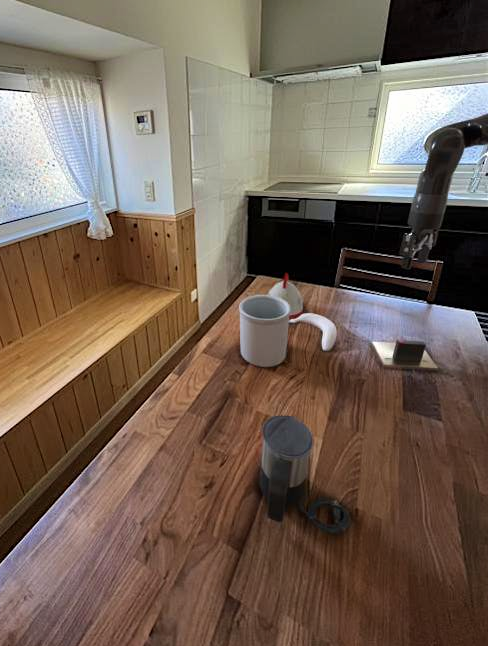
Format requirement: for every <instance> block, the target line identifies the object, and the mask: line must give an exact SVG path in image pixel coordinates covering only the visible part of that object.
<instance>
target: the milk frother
mask: <svg viewBox="0 0 488 646" xmlns="http://www.w3.org/2000/svg"><path fill="white" fill-rule="evenodd" d="M261 436H262V449H261V461H260V462H261V463H260V472H259V487H260V490H261V492H262V493H263V495H264V497H265V498H266V499H267V511H266V512H267V514H266V515H267V518H268V519H270V520H272V521H274V522H277V523H282V522H283V521H284V517H285V516H284V515H285V508H290V507H294V506H296V507H297V508H298V509H299V511H301V514H302V515H303V516H304V517H305V518H306V520H308V522H309V523H310V524H311V525H312V526H313V527H314V528H316V529H317V530H319V531H321V532H322V533H325V534H328V535H339V534H342V533H344V532H346V531H348V530H349V528H350V526H351V523H352V519H351V515H350V512H349V511H348V510H347V509H346V508H345V507H344V505H342V504H341V503H339V502H338V501H337V500H332V499H328V498H317V499H316V500H313V501H311V503H309V505H308V507H307V511H306V509H305V508H304V507H303V505H302V504H301V502H302V500H303V499H304V496H305V493H306V481H307V473H308V468H309V461H310V455H311V451H312V449H313V446H314V437H313V434H312V432H311V430H310V429H309V427H307V425H306V424H305V423H304V422H302V421H301V420H299V419H298V418H295V417H293V416H291V415H285V414H283V415H282V414H281V415H280V414H279V415H273V416H272V417H271V416H270V417H269V418H268V419H267V420H266V421H264V423H263V425H262V428H261ZM322 506H330V507H329V508H330V510H329V511H330V514H332V523H333V524H327V523H324V522H322V521H321V520H320V519H319V518H317V516H316V514H315V513H316V511H317V509H319V508H320V507H322Z"/></svg>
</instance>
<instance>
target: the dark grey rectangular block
mask: <svg viewBox="0 0 488 646" xmlns="http://www.w3.org/2000/svg"><path fill="white" fill-rule="evenodd" d="M395 343H396V345H395V349H394V353H393V358H394V360H400V361H416V362H421V360H422V357H423V353H424V350H425V351H426V346H427V344H426V343H425V341H423V340H422V341H421V340H419V341H418V340H406V339H405V340H404V339H403V340H402V339H397V340H396V341H395Z"/></svg>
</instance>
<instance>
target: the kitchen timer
mask: <svg viewBox="0 0 488 646" xmlns="http://www.w3.org/2000/svg"><path fill="white" fill-rule="evenodd" d="M289 277H290V276H289V273H287V272H286V273H285V274H284V277H283V280H282V281H279V282H278V283H276V284H275V285H274V286H272V288H270V289H269V290H268V292H267V294H266V295H272V296H276V297H279V298H281V299H283V300H285V301H286V302H287V303H288V304H289V305H290V315H289V320H291V319H296V318H298V317H299V316H300V315H302V314H303V311H304V308H303V307H304V302H303V300H304V299H303V293H302V292H300V291H299V289H298V288H297V286H296V285H295V284H294V283H292V282H290V281H289Z"/></svg>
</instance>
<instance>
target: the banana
mask: <svg viewBox="0 0 488 646" xmlns="http://www.w3.org/2000/svg"><path fill="white" fill-rule="evenodd" d="M289 323H293V324H296V323H303V324H310V325H313V326H315V327H316V328H318V329H320V331H322V338H321V348H322V350H323V351H325V352H329V351H330V350H331V349H333V347H334V345H335V343H336V340H337V334H338V332H337V331H338V330H337V327H336V325H335V323H334V322H332V320H330V319H329V318H326V317H325V316H323V315H320V314H316V313H313V312H312V313H311V312H309V313H308V312H307V313H302V314H301V315H300V316H299V317H297V318H294V319H289Z"/></svg>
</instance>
